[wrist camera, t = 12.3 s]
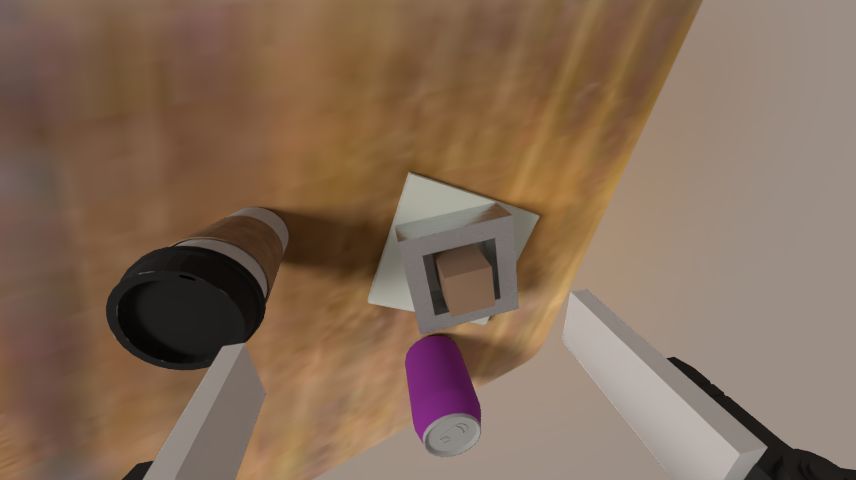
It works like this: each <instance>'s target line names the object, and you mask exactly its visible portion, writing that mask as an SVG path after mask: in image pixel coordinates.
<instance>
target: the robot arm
mask: <svg viewBox="0 0 856 480" xmlns="http://www.w3.org/2000/svg"><path fill="white" fill-rule="evenodd" d="M562 341H563V342H564V344H565V345H566V346H567V348H568V349H569V350H570V351H571V353H572V354H573V355H574V356H575V358H576V359H577V360H578V361H579V363H580V364H581V365H582V366H583V368H584V369H585V370H586V371H587V372H588V374H589V375H590V377H591V378H592V379H593V380H594V381H595V383H596V384H597V385H598V387H599V388H600V389H601V390H602V391H603V393H604V394H605V395H606V397H607V398H608V399H609V400H610V402H611V403H612V404H613V405H614V407H615V408H616V409H617V410H618V412H619V413H620V414H621V415H622V417H623V418H624V419H625V421H626V422H627V423H628V424H629V426H630V427H631V428H632V429H633V431H634V432H635V433H636V434H637V436H638V437H639V438H640V439H641V441H642V442H643V443H644V444H645V446H646V447H647V448H648V449H649V451H650V452H651V453H652V454H653V455H654V457H655V458H656V459H657V461H658V462H659V463H660V464H661V466H662V467H663V468H664V469H665V471H666V472H667V473H668V475H669V476H670V477H671V478H672V480H856V470H851V469H844V468H840V467H838V466H837V465H835V464H833V463H832V462H830V461H829V460H827V459H825V458H823V457H821V456H818V455H816V454H814V453H812V452H809V451H804V450H800V449H793V448H791V447H789V446H788V445H787V444H786V443H784V442H783V441H781V440H780V439H779V438H778V437H777V436H775V435H774V434H773V433H772V432H771V431H769V430H768V429H767V428H766V427H765V426H763V425H762V424H761V423H760V422H759V421H757V420H756V419H755V418H754V417H753V416H751V415H750V414H749V413H748V412H746V411H745V410H744V409H743V408H742V407H740V406H739V405H738V404H737V403H736V402H734V401H733V400H732V399H731V398H730V397H728V396H725V395H724V392H722V391H721V390H720V389H718V387H716V386H715V385H714V384H711V383H710V381H709V380H708V379H707V378H705V377H704V376H703V375H702V374H701V373H699V372H698V371H697V370H696V369H695V368H693V367H691V366H690V365H688V364H686V363H684V362H682V361H681V360H679V359H677V358H675V357H671V358H665V357H664V356H663V355H662V354H661V353H659V352H658V351H657V350H656V349H655V348H654V347H653V346H651V345H650V344H649V343H648V342H646V340H645V339H643V338H642V337H641V336H640V335H639V334H638V333H637V332H635V331H634V330H633V329H632V328H631V327H630V326H628V325H627V324H626V323H625V322H624V321H623V320H622V319H621V318H619V317H618V316H617V315H616V314H615V313H614V312H613V311H611V310H610V309H609V308H608V307H607V306H606V305H605V304H603V303H602V302H601V301H600V300H599V299H598V298H597V297H595V296H594V295H593V294H592V293H591V292H590V291H588V290H587V289H585V290H578V291H572V292H571V293H570V298H569V304H568V309H567V315H566V321H565V326H564V332H563V337H562ZM265 395H266V393H265V390H264V388H263V386H262V383H261V381H260V378H259V376H258V374H257V371H256V369H255V366H254V364H253V362H252V359H251V357H250V354H249V352H248V350H247V347H246V345H245V343H241V344H235V345H228V346H223V347H222V348H221V350H220V352H219V353H218V355H217V357H216V358H215V360H214V362H213V363H212V365H211V367H210V368H209V370H208V372H207V373H206V375H205V377H204V378H203V380H202V382H201V383H200V385H199V387H198V388H197V390H196V392H195V393H194V395H193V397H192V398H191V400H190V402H189V403H188V405H187V407H186V408H185V410H184V412H183V413H182V415H181V417H180V418H179V420H178V422H177V423H176V425H175V427H174V428H173V430H172V432H171V433H170V435H169V437H168V438H167V440H166V442H165V443H164V445H163V447H162V448H161V450H160V452H159V453H158V455H157V457H156V458H155V460H154V461H149V462H144V463H139V464H137V465H136V466H135V467H134V468H133V469H132V470H131V471H130V472H129V473H128V474H127V475H126V476H125V477H124V478H123V479H122V480H235V479H236V476H237V474H238V471H239V468H240V465H241V462H242V459H243V457H244V454H245V451H246V448H247V445H248V443H249V440H250V437H251V434H252V431H253V429H254V426H255V423H256V420H257V417H258V414H259V412H260V409H261V406H262V403H263V400H264V398H265Z"/></svg>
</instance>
